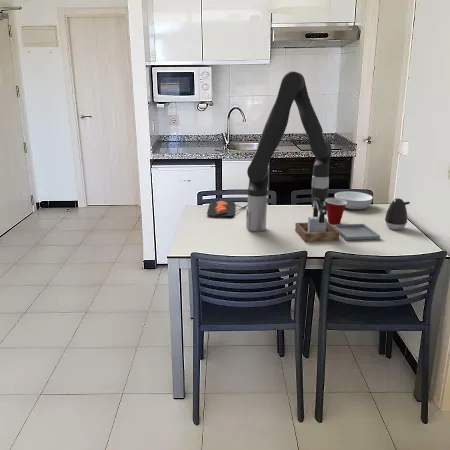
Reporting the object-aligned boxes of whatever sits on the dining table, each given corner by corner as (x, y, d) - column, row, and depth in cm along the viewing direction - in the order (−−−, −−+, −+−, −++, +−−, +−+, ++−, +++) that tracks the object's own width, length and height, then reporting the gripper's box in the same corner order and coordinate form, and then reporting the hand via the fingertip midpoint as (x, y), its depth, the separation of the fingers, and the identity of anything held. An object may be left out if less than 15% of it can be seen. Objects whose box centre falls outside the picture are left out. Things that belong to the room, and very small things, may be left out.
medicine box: (323, 234, 219) (325, 216, 216) (325, 237, 215) (327, 219, 212) (307, 234, 219) (308, 216, 216) (309, 237, 214) (310, 219, 212)
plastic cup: (345, 227, 228) (348, 204, 225) (323, 226, 230) (325, 202, 227) (345, 221, 239) (347, 198, 235) (323, 219, 241) (325, 197, 237)
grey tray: (346, 241, 209) (346, 237, 209) (332, 228, 226) (332, 224, 226) (379, 239, 211) (380, 235, 211) (363, 227, 228) (364, 223, 228)
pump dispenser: (402, 233, 221) (406, 202, 216) (381, 228, 227) (384, 198, 222) (409, 227, 228) (413, 198, 224) (388, 223, 234) (391, 194, 230)
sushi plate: (210, 204, 270) (210, 197, 269) (261, 205, 269) (261, 198, 268) (206, 218, 243) (206, 211, 241) (263, 219, 242) (264, 212, 240)
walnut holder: (304, 242, 208) (305, 233, 207) (295, 230, 223) (295, 222, 222) (339, 240, 210) (339, 232, 209) (327, 229, 225) (327, 221, 224)
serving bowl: (358, 214, 250) (359, 202, 248) (326, 206, 264) (327, 195, 262) (378, 207, 263) (380, 196, 261) (347, 200, 278) (348, 189, 276)
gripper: (307, 182, 216) (305, 216, 221) (317, 189, 202) (315, 225, 207) (322, 182, 217) (321, 215, 222) (333, 189, 203) (331, 224, 208)
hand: (318, 220), depth 214 cm, fingers open, 8 cm apart
